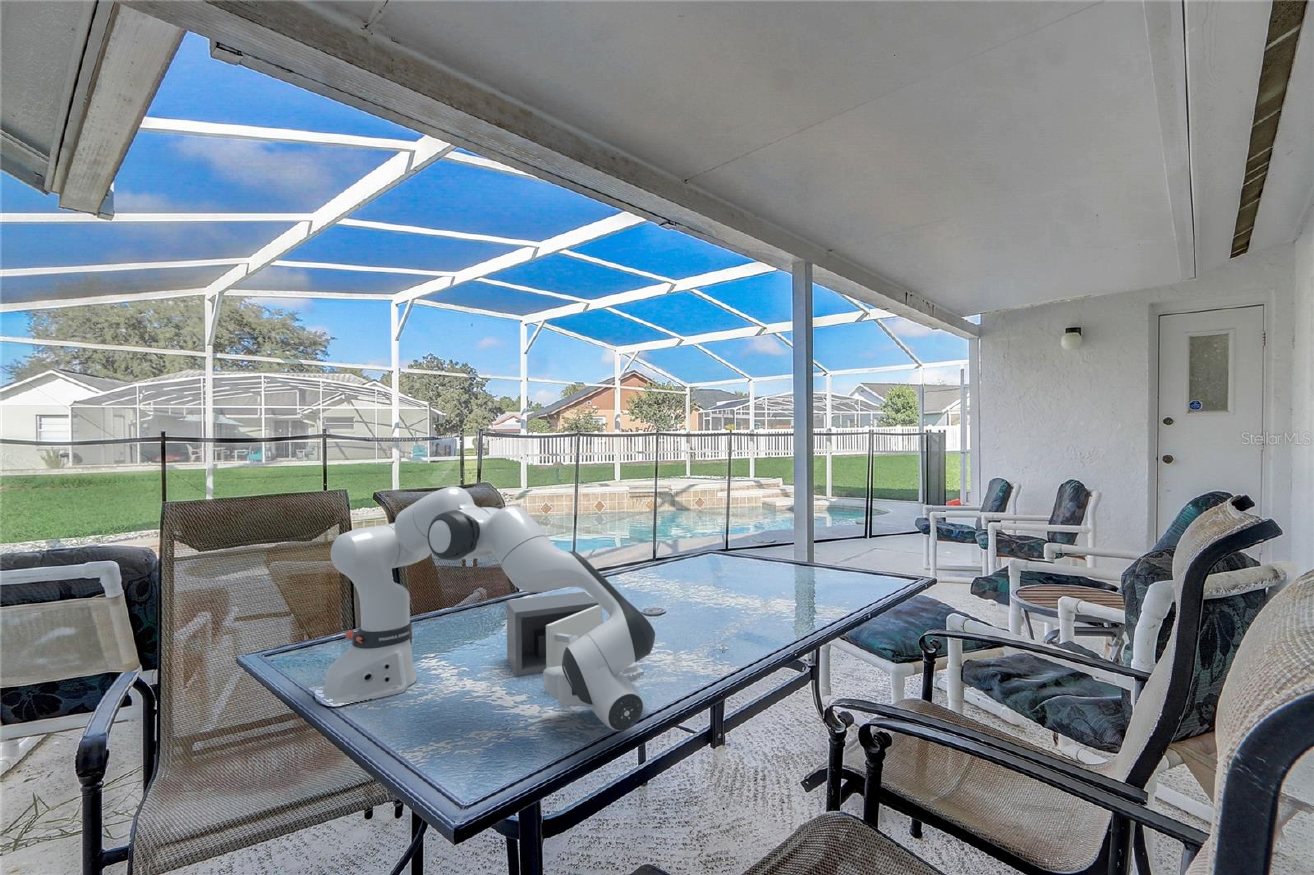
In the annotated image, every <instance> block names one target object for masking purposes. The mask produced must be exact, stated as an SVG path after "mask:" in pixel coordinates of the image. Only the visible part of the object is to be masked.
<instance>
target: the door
mask: <svg viewBox="0 0 1314 875" xmlns="http://www.w3.org/2000/svg"><path fill="white" fill-rule="evenodd" d="M601 623H603V607H602V606H601V605H600V604H599V605H596V606H594V607H591V608H589V609H586V610H583V611H581V612H578V613H576V614H573V615H571V616H568V617H566V618H563V619H561V620H558V621H555V622H553V623H550V624H548V625H546V668H549V667H556V666H562V660H563V654H564V651H565V648H566V647H567V646H569V645H570V644H571V643H573V642H574V641H576V640H577V639H579V638H580V637H582V636H583V635H584V634H587V633H588V632H590V631H591V630H593V629H594V628H596V627H597V626H599V625H600V624H601Z"/></svg>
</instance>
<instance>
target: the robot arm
mask: <svg viewBox="0 0 1314 875" xmlns="http://www.w3.org/2000/svg"><path fill="white" fill-rule="evenodd" d="M431 554H433V555H434V556H435V557H436V558H438V559H441V560H446V561H459V560H474V559H481V558H487V557H492V556H494V557H495V558H496V559H497V562H498V564H499V565H500V567H501V568H502V570H503V572H504V573H505V575H506V576H507V578H508V579H509V580H510V582H511V583H512V584H513V585H514V586H515V587H516V588H517V589H519V590H521V591H524V592H526V593H527V592H528V593H545V592H549V591H550V592H551V591H554V590H558V589H562V588H572V587H573V588H580V589H583V590H585V591H586V592H587V594H588V595H589V596H591V597H592V598H593V599H595V600H596V601H597V602H598V603H599V605H601V606H602V609H604V611H605V612H607V613H608V615H609V617H608V618H607V619H606V620H604V621H602V623H601V624H600V625H599V626H597V627H596V628H594V629H593V630H591V631H590V632H588V633H587V634H584V635H583V636H582V637H580V638H579V639H577V640H576V641H574V642H573V643H571V644H570V645H569V646H567V647H566V648H565V651H564V654H563V660H562V666H556V667H549V668H546V669H545V670H544V671H543V672H542V673H543V674H542V677H543V678H542V679H543V680H542V683H543V688H544V689H545V690H546V692H547V693H548V694H549V695H550V696H551V697H552V698H555V699H557V701H558V704H559V706H560V707H561V706H562V707H584V708H589V709H591V710H592V712H593V714H595V716H596V717H597V719H599V721H600V722H602V723H603V724H604V725H605V726H606V727H607V728H609V729H611V730H612V731H615V732H623V731H627V730H630V729H631V728H632V727H633V726H634V725H636V723H638V722H639V721H640V719H641V717H642V714H643V711H644V700H643V697H642V696H641V694H640V692H639V691H638V689H637V688H636V686H635V685H634V684H633V683H634V682H636V681H637V680H638V679H640V678H641V676H644V675H645V672H644V669H642V668H641V667H638V663H637V662H639V661H641V660H642V659H644V658H645V657H647V656H648V655H651V653H652V650H653V646H654V644H655V640H656V638H655V637H656V632H655V629H654V628H653V625H652V623H651V622H650V620H649V618H647V616H645V614H644V613H642V612H641V611H640V610H639V609H637V608H636V607H635V606H634V605H633V604H632V603H631V602H629V601H628V600H627V599H626V598H625V597H624V595H622V594H621V593H620V592H619V591H618V589H616V588H615V587H614V586H613V585H612V584H611V583H610V582H609V580H607V579H606V578H605V576H603V575H602V574H601V573H600V572H599V571H598V570H597V569H596V568H595V567H594V566H593V565H592V564H591V563H590V562H589V561H588V560H587V559H586V558H584V557H583V556H582V555H581V554H580V553H578V552H577V551H573V550H571V551H570V550H569V551H566V550H564V549H561V548H559V547H557V545H555V544H554V543H553V542H552V541H551V540H550V539H549V537H548V536H547V534H546V533H545V531H544V530H543V529H542V528H541V526H540V524H539V523H537V521H536V520H535V519H534V518H533V516H532V515H531V514H529V513H528V512H527V511H526V510H525V509H524V508H522V507H520V506H517V505H510V506H509V505H508V506H505V507H504V506H503V507H500V506H495V505H489V504H487V505H486V506H482V507H479V506H477V505H476V504H475V501H474V499H473V497H472V495H471V494H470V493H469V492H468V490H466V489H464V488H462V487H460V486H453V485H452V486H448V487H443V488H441V489H438V490H435V491H433V492H431V493H429V494H427V495H425V496H423V497H422V498H420V499H419V500H417V501H415V502H414V503H412V504H410V505H408V506H407V507H405V508H404V509H402V510H401V511H400V512H398V514H397V516H396V517H395V520H394V522H391V523H388V524H381V525H374V526H366V527H358V528H356V529H352V530H349V531H347V532H344V533H342V534H339V535H338V536H336V538H335V539H334V541H333V543H332V545H331V548H330V559H331V563H332V565H333V566H334V568H335V569H336V570H337V571H338V572H339V573H341V574H342V575H345V577H347V578H348V579H349V580H350V581H351V582H352V584H353V585H354V587H355V590H356V591H357V594H358V599H359V608H360V627H359V629H358V630H356V632H355V631H354V630H351V629H349V630H347V631H346V633H345V634H344V636H345V638H346V639H348V641H349V640H350V641H351V642H352V646H350V647H349V648H348V649H347V650H345V652H344V653H343V654H342V655H340V656H339V657H338V658H337V659H336V660H335V661H334V662H332V663H331V664H330V665H329V667H327V670H326V674H325V680H324V684H323V685H322V686H323V687H322V686H321V687H322V688H319V687H318V688H319V689H317V688H316V689H317V690H323V692H322V693H318V694H324V697H322V698H320V699H326V700H329V699H333V701H331V702H326V703H333V704H338V703H351V702H358V701H362V700H367V701H369V700H368V699H372V700H376V699H381V698H384V697H385V698H386V697H389V696H392V695H397V694H398V695H399V694H401V693H404V692H406V691H407V689H408V687H410V686H411V685H413V684H414V683H415V682H416V681H417V680H418V675H417V673H416V672H417V671H416V669H415V665H414V660H413V653H412V642H413V627H412V623H413V622H411V620H410V618H411V616H410V615H411V613H410V610H411V609H410V607H411V606H410V605H411V604H410V602H411V601H410V598H411V596H410V595H411V594H410V591H408V588H406V587H405V586H403V585H402V584H400V583H397V582H395V581H394V580H393V577H392V573H391V572H392V571H391V570H392V569H395V568H402V567H405V566H410V565H413V564H416V563H418V562H420V561H423V560H425V559H427V558H429V556H430V555H431Z"/></svg>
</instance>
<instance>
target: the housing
mask: <svg viewBox="0 0 1314 875" xmlns="http://www.w3.org/2000/svg"><path fill="white" fill-rule="evenodd" d="M596 605H600V604H599V603H598V602H597V601H596V600H595V599H594V598H593V597H592V596H591V595H590V594H589V593H586V592H585V591H581V592H579V591H578V592H572V593H570V592H569V593H563V594H553V595H551V594H550V595H544V596H535V597H527V598H516V599H508V600H506V645H507V646H506V654H507V656H506V657H507V658H506V659H507V662H508V664H509V665H510V667H511V670H512V671H513V673H514V675H515V677H522V676H529V675H534V673H535V674H539V672H541V673H543V671H544V670H545V669H546V625H548V624H550V623H553V622H555V621H558V620H561V619H563V618H566V617H568V616H571V615H573V614H576V613H578V612H581V611H583V610H586V609H589V608H591V607H594V606H596Z"/></svg>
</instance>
